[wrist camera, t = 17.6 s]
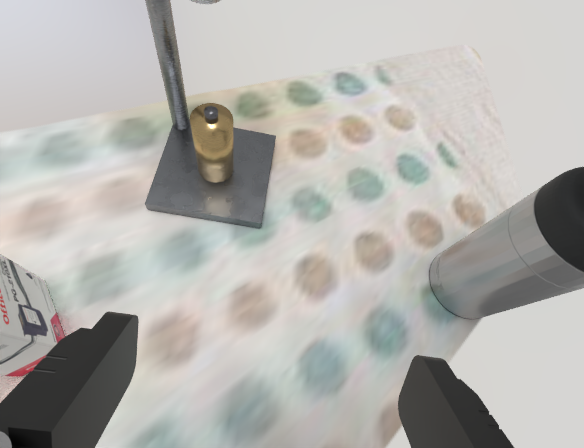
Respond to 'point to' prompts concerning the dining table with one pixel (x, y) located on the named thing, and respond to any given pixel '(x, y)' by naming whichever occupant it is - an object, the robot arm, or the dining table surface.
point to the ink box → (25, 320)
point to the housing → (213, 141)
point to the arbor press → (182, 158)
